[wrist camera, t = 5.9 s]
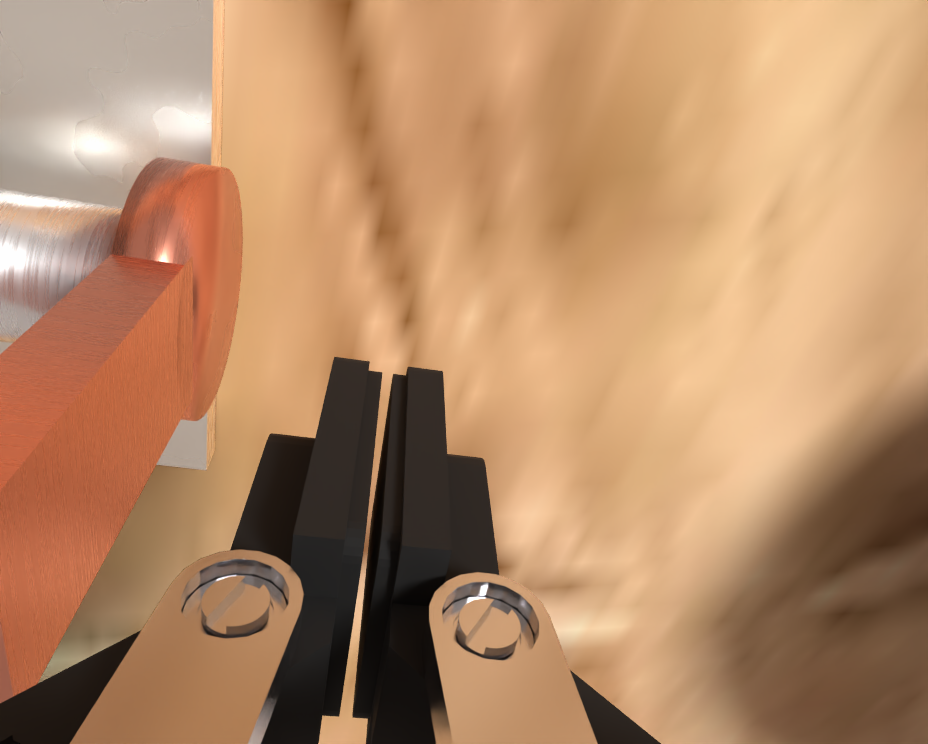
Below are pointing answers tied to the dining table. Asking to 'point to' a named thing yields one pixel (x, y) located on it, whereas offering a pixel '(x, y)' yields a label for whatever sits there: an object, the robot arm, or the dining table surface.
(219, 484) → the dining table surface
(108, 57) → the hitch block
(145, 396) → the lynch pin
